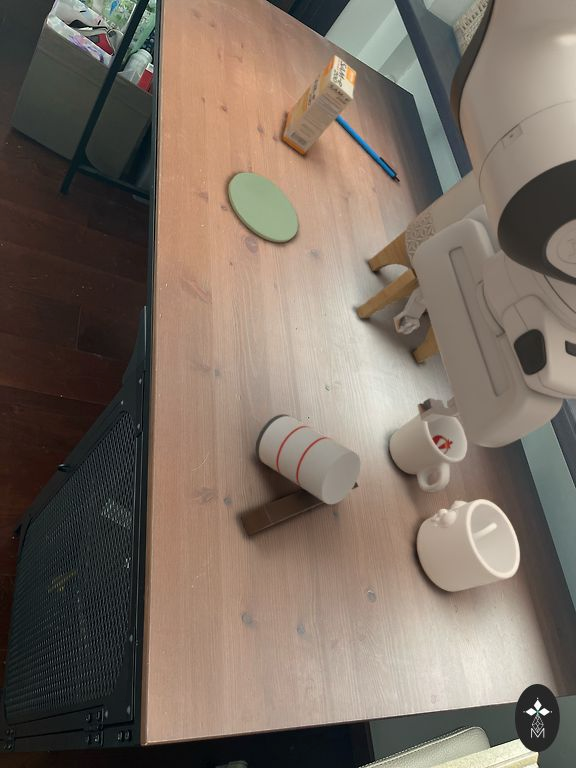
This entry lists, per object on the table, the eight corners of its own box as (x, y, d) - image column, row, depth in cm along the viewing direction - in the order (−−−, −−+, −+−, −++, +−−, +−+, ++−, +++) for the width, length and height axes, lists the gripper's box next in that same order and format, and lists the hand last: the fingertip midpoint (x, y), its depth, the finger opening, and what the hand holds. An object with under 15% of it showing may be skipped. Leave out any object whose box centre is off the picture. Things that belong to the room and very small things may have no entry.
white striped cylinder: (276, 528, 67) (344, 500, 60) (238, 433, 70) (299, 394, 62) (313, 512, 72) (382, 483, 64) (276, 423, 74) (338, 385, 66)
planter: (384, 369, 92) (535, 272, 74) (333, 261, 96) (464, 145, 78) (451, 356, 105) (593, 271, 87) (403, 261, 109) (530, 162, 91)
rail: (248, 535, 65) (271, 524, 62) (240, 517, 65) (263, 505, 62) (335, 497, 74) (358, 486, 71) (328, 482, 75) (351, 470, 72)
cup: (430, 506, 84) (477, 487, 79) (388, 496, 80) (434, 476, 75) (418, 434, 90) (461, 412, 84) (378, 421, 86) (421, 398, 80)
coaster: (248, 242, 86) (250, 239, 85) (215, 171, 88) (217, 168, 88) (307, 242, 94) (309, 240, 93) (276, 178, 96) (278, 175, 96)
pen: (397, 183, 120) (401, 180, 120) (327, 110, 116) (330, 106, 115) (398, 181, 121) (402, 178, 120) (328, 109, 117) (332, 105, 116)
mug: (438, 494, 86) (491, 473, 80) (479, 558, 86) (536, 542, 79) (397, 537, 78) (452, 517, 72) (442, 609, 77) (502, 595, 71)
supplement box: (286, 112, 107) (334, 52, 98) (308, 129, 109) (357, 72, 100) (280, 139, 102) (330, 78, 93) (303, 156, 104) (354, 98, 95)
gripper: (473, 182, 52) (364, 272, 62) (556, 401, 44) (414, 467, 53) (516, 204, 56) (407, 286, 65) (601, 410, 47) (461, 470, 57)
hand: (411, 369), depth 59 cm, fingers open, 8 cm apart
